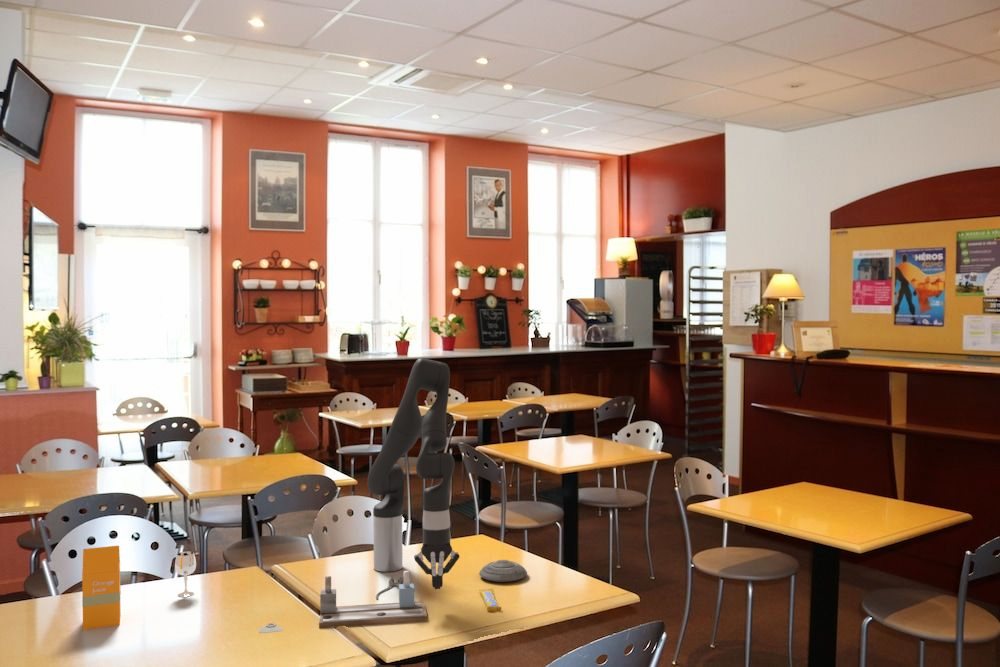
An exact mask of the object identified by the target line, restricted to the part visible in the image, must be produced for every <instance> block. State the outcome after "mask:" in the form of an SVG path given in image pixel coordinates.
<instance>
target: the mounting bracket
mask: <svg viewBox="0 0 1000 667" xmlns="http://www.w3.org/2000/svg"><path fill="white" fill-rule="evenodd" d="M258 629H259V630H258V633H259V634H266V633H274V632H275V633H276V632H282V631H283V630H284V627H283V626H277V623H275V622H274V623H273V622H271V623H266V624H265V626H263V627H262V626H261V627H258Z"/></svg>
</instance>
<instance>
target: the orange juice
mask: <svg viewBox="0 0 1000 667" xmlns="http://www.w3.org/2000/svg"><path fill="white" fill-rule="evenodd" d="M81 574H82V576H81V578H82V579H81V580H82V581H81V582H82V583H81V584H82V587H81V588H82V602H81V603H82V604H81V605H82V630H83V631H85V630H91V629H97V628H98V629H99V628H106V627H113V626H114V627H115V626H121V618H122V617H121V613H122V612H121V594H122V593H121V592H122V591H121V560H120V545H111V546H102V547H101V546H99V547H91V548H83V550H82V573H81Z"/></svg>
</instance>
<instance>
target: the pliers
mask: <svg viewBox="0 0 1000 667" xmlns="http://www.w3.org/2000/svg"><path fill="white" fill-rule="evenodd" d="M388 584H389V585H388V586H387V587H386V588H384V589H382V590H380V591H378V593H377V594H376V596H375V599H376V601H378V600H379V596H380V595H382V594H384V593H385V592H388V591H389V590H392V589H393V588H397V589H398V590H399V584H404V579H403V578H402V576H401V577H400V578H399V579H398V580H397V581H395V580H394V577H391V578H390V579H389V580H388Z"/></svg>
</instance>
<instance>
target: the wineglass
mask: <svg viewBox="0 0 1000 667" xmlns="http://www.w3.org/2000/svg"><path fill="white" fill-rule="evenodd" d="M174 562H175V563H174V569H175V573H177V574H178V575H180V576H181V577H183V582H184V591H183V592H180V593H178V594H177V597H178V598H186V597H187V598H188V597H191V596H194V594H195V593H194V592H193V591H188V588H187V587H188V584H187V583H188V576H189V575H191V574H193V573H194V572H195V571H196V568H197V559H196V556H195V552H194V551H190V550H189V551H181V552H178V553H177V554H176V558H175V561H174Z"/></svg>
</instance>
